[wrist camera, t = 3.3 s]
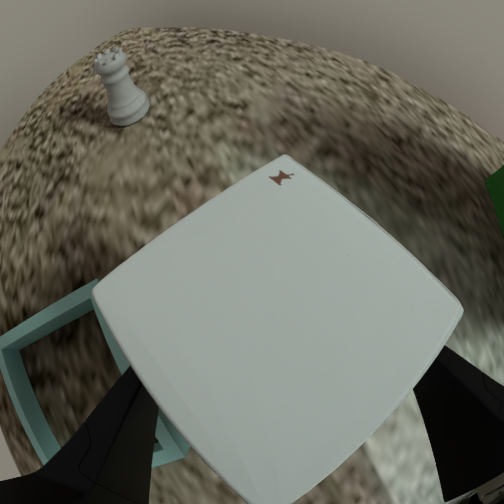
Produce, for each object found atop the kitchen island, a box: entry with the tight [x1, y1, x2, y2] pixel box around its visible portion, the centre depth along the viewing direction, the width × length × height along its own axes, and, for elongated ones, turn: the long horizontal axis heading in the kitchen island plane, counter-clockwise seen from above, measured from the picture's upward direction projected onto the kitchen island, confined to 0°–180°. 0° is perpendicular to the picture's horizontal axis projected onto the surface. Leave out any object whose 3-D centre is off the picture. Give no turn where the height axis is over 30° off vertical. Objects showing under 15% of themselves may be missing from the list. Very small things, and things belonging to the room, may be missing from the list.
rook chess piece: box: [93, 47, 150, 126], centre depth 20 cm, size 4×4×8 cm
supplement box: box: [91, 154, 464, 504], centre depth 11 cm, size 7×7×13 cm
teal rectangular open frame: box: [0, 278, 190, 467], centre depth 15 cm, size 13×13×2 cm
